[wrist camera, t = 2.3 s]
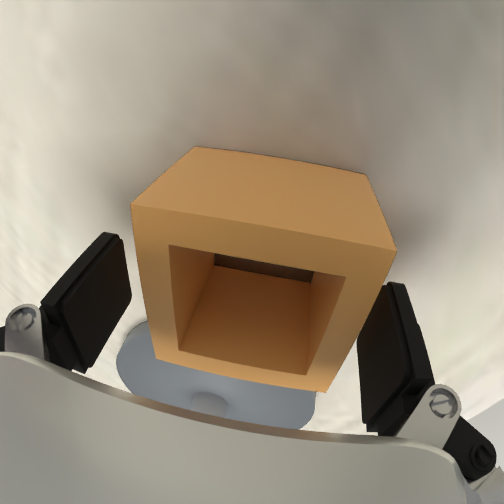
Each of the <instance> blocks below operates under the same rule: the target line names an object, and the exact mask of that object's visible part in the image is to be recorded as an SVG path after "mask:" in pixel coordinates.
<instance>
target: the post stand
mask: <svg viewBox="0 0 504 504" xmlns="http://www.w3.org/2000/svg"><path fill="white" fill-rule="evenodd" d="M116 365H117V370H118V373H119V376H120V377H121V379H122V381H123V382H124V384H125V385H126V387H127V388H128V389H129V390H130V391H131V392H132V393H133V394H135V395H138V396H141V397H144V398H148V399H151V400H154V401H158V402H161V403H165V404H168V405H172V406H176V407H180V408H183V409H187V410H191V411H195V412H200V413H204V414H208V415H213V416H217V417H222V418H227V419H232V420H237V421H243V422H248V423H254V424H260V425H267V426H273V427H280V428H288V429H296V430H298V429H300V428H302V427H303V426H304V425H306V424H307V423H308V422H309V421H310V419H311V418H312V416H313V414H314V409H315V395H316V391H308V390H301V389H294V388H287V387H281V386H275V385H269V384H263V383H258V382H252V381H247V380H242V379H237V378H232V377H227V376H223V375H218V374H214V373H209V372H205V371H201V370H197V369H193V368H189V367H185V366H181V365H177V364H173V363H170V362H166V361H162V360H159V359H156V356H155V352H154V347H153V343H152V338H151V334H150V329H149V324H148V321H146V322H143V323H141V324H139V325H138V326H136V327H135V328H133V330H132V331H131V332H130V333H129V334H128V336H127V338H126V340H125V342H124V343H123V345H122V347H121V349H120V351H119V353H118V355H117V359H116Z"/></svg>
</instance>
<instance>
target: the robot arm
mask: <svg viewBox="0 0 504 504" xmlns="http://www.w3.org/2000/svg"><path fill="white" fill-rule="evenodd" d="M131 298H132V292H131V287H130V281H129V276H128V270H127V264H126V258H125V251H124V244H123V240H122V239H120V237H119V235H117V234H113V233H108V232H103V233H102V234H101V235H100V236H99V237H98V238H97V239H96V240H95V241H94V242H93V243H92V244H91V245H90V246H89V247H88V248H87V249H86V250H85V251H84V252H83V253H82V255H81V256H80V257H79V258H78V259H77V260H76V261H75V262H74V263H73V264H72V266H71V267H70V268H69V269H68V270H67V271H66V272H65V273H64V275H63V276H62V277H61V278H60V279H59V280H58V281H57V283H56V284H55V285H54V286H53V287H52V288H51V290H50V291H49V292H48V293H47V294H46V296H45V297H44V298H43V299H42V300H41V306H40V308H39V309H38V307H37V306H35V305H33V304H23V305H20V306H18V307H16V308H15V309H13V310H12V311H11V312H10V313H9V315H8V317H7V318H6V323H5V326H3V327H0V504H504V472H503V471H502V469H501V468H500V466H499V467H497V468H496V467H495V464H496V451H495V448H494V446H493V444H491V442H490V441H489V440H488V439H487V438H485V437H484V436H483V435H482V434H481V433H480V432H478V431H477V430H476V429H475V428H474V427H473V426H471V425H470V424H469V423H468V422H467V421H466V420H465V419H463V418H462V417H461V416H460V413H461V401H460V398H459V397H458V395H457V393H456V392H455V391H454V390H453V389H452V388H450V387H448V386H446V385H442V384H436V385H435V381H434V377H433V373H432V369H431V365H430V361H429V357H428V353H427V350H426V346H425V343H424V339H423V336H422V332H421V329H420V326H419V324H418V323H417V321H416V317H415V314H414V311H413V308H412V305H411V302H410V299H409V296H408V293H407V290H406V287H405V285H404V284H401V283H395V282H388V283H387V285H383V286H382V287H381V290H380V292H379V294H378V296H377V298H376V300H375V302H374V304H373V306H372V309H371V311H370V313H369V315H368V317H367V319H366V321H365V323H364V325H363V327H362V329H361V331H360V333H359V335H358V338H357V354H358V365H359V378H360V391H361V408H362V422H363V423H364V424H366V428H367V432H378V436H374V435H354V434H339V433H327V432H315V431H305V430H296V429H288V428H280V427H273V426H267V425H260V424H254V423H248V422H243V421H237V420H232V419H227V418H222V417H217V416H213V415H208V414H204V413H200V412H195V411H191V410H187V409H183V408H180V407H176V406H172V405H168V404H165V403H161V402H158V401H154V400H151V399H148V398H144V397H141V396H138V395H135V394H132V393H129V392H126V391H123V390H120V389H117V388H114V387H111V386H108V385H106V384H103V383H100V382H98V381H95V380H92V379H90V378H87V377H84V376H82V375H79V374H77V373H74V372H72V369H74V370H76V371H79V372H81V373H83V374H85V373H86V371H87V369H88V367H89V368H91V367H92V366H93V365H94V363H95V361H96V359H97V358H98V356H99V354H100V352H101V351H102V349H103V347H104V345H105V344H106V342H107V340H108V338H109V337H110V335H111V333H112V332H113V330H114V328H115V327H116V325H117V323H118V322H119V320H120V318H121V317H122V315H123V313H124V312H125V310H126V308H127V307H128V305H129V304H130V302H131Z"/></svg>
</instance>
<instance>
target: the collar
mask: <svg viewBox="0 0 504 504" xmlns="http://www.w3.org/2000/svg"><path fill="white" fill-rule="evenodd" d="M130 207H131V216H132V225H133V233H134V241H135V248H136V256H137V262H138V269H139V275H140V281H141V287H142V293H143V298H144V304H145V309H146V314H147V319H148V324H149V329H150V334H151V338H152V343H153V347H154V352H155V356H156V359H159V360H162V361H166V362H170V363H173V364H177V365H181V366H185V367H189V368H193V369H197V370H201V371H205V372H209V373H214V374H218V375H223V376H227V377H232V378H237V379H242V380H247V381H252V382H258V383H263V384H269V385H275V386H281V387H287V388H294V389H301V390H308V391H316V392H324V393H326V391H327V390H328V388H329V386H330V385H331V383H332V381H333V380H334V378H335V376H336V374H337V373H338V371H339V369H340V367H341V366H342V364H343V362H344V360H345V359H346V357H347V355H348V353H349V351H350V349H351V348H352V346H353V344H354V342H355V340H356V338H357V336H358V334H359V332H360V331H361V329H362V327H363V325H364V323H365V321H366V319H367V317H368V315H369V313H370V311H371V309H372V306H373V304H374V302H375V300H376V298H377V296H378V294H379V292H380V290H381V287H382V285H383V283H384V281H385V278H386V276H387V274H388V272H389V269H390V267H391V265H392V262H393V260H394V258H395V255H396V253H397V249H396V246H395V243H394V241H393V238H392V235H391V233H390V230H389V228H388V225H387V223H386V220H385V218H384V215H383V213H382V210H381V208H380V206H379V203H378V201H377V199H376V196H375V194H374V192H373V189H372V187H371V185H370V183H369V180H368V178H367V176H366V175H364V174H360V173H356V172H351V171H346V170H342V169H337V168H332V167H327V166H322V165H317V164H312V163H307V162H301V161H296V160H290V159H284V158H278V157H272V156H266V155H259V154H252V153H245V152H238V151H230V150H222V149H214V148H205V147H194V148H192V149H191V150H190V151H189V152H188V153H186V154H185V155H184V156H183V157H182V158H180V159H179V160H178V161H177V162H176V163H175V164H174V165H172V166H171V167H170V168H169V169H168V170H167V171H166V172H164V173H163V174H162V175H161V176H160V177H159V178H158V179H157V180H155V181H154V182H153V183H152V184H151V185H150V186H149V187H148V188H147V189H146V190H145V191H144V192H142V193H141V194H140V195H139V196H138V197H137V198H136V199H135V200H134V201H133V202H132V203H131V204H130ZM215 253H218V254H223V255H229V256H234V257H239V258H245V259H250V260H256V261H261V262H267V263H272V264H278V265H283V266H289V267H294V268H300V269H305V270H311V271H314V274H313V278H312V281H311V283H308V282H303V281H297V280H291V279H286V278H280V277H275V276H269V275H264V274H258V273H253V272H248V271H242V270H237V269H232V268H226V267H221V266H216V265H214V258H215Z"/></svg>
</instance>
